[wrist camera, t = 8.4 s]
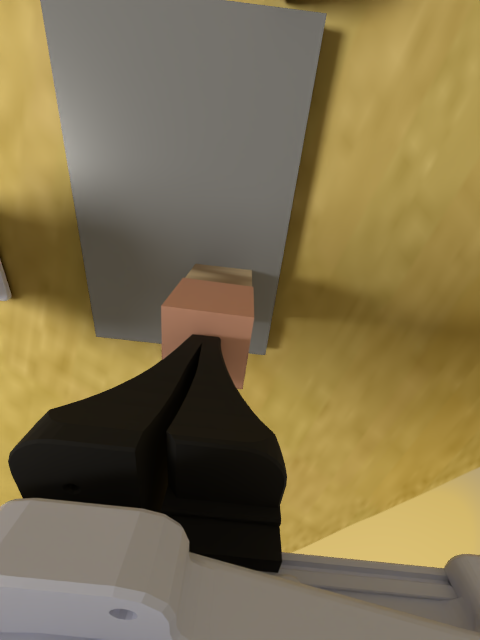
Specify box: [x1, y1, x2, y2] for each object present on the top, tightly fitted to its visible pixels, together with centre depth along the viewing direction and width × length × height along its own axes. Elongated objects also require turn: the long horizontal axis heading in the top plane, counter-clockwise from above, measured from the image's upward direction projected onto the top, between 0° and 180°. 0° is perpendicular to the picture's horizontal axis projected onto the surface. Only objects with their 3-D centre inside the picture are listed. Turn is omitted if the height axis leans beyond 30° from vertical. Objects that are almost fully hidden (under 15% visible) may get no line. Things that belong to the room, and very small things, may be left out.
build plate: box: [40, 0, 327, 355], centre depth 17 cm, size 14×20×1 cm
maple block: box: [185, 264, 252, 287], centre depth 17 cm, size 4×4×4 cm
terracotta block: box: [161, 278, 254, 389], centre depth 14 cm, size 4×4×4 cm
